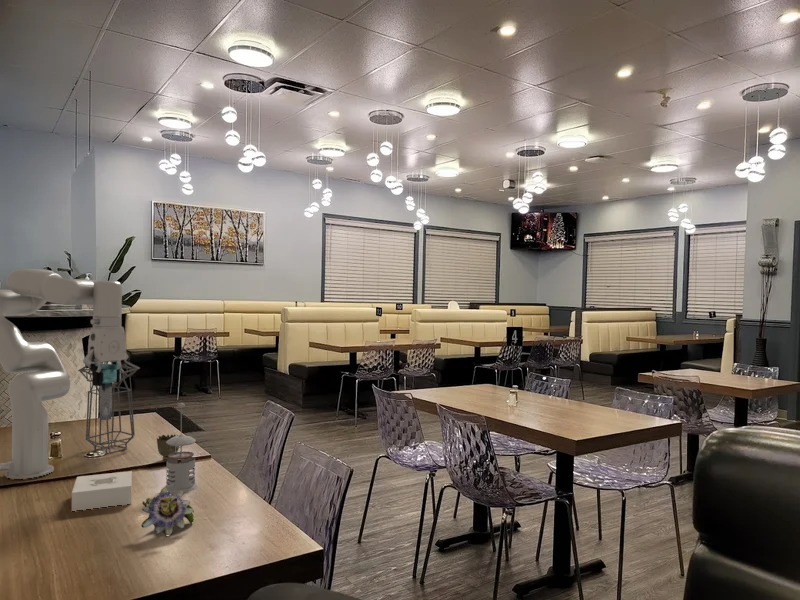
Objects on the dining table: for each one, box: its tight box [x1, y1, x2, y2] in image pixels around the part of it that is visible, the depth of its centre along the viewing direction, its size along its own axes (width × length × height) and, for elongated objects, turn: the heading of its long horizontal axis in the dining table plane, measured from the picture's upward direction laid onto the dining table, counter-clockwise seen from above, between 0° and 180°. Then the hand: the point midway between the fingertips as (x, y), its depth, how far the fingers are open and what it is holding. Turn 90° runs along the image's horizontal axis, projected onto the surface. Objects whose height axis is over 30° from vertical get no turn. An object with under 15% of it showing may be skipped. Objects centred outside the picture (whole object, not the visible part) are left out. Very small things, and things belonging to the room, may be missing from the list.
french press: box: [163, 402, 199, 494], centre depth 169 cm, size 10×12×25 cm
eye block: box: [71, 470, 133, 512], centre depth 158 cm, size 14×14×5 cm
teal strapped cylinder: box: [96, 363, 120, 421], centre depth 169 cm, size 9×6×16 cm, turn 69°
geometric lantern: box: [77, 360, 141, 455], centre depth 206 cm, size 16×16×35 cm
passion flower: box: [141, 486, 195, 536], centre depth 139 cm, size 11×11×12 cm
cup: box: [156, 433, 180, 461], centre depth 195 cm, size 8×7×8 cm
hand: (106, 383), depth 169 cm, fingers closed on teal strapped cylinder, 5 cm apart
